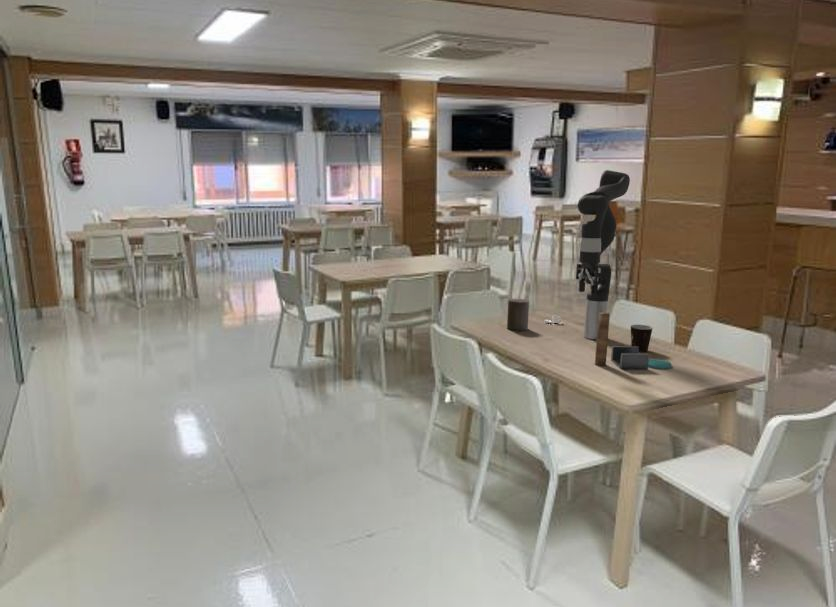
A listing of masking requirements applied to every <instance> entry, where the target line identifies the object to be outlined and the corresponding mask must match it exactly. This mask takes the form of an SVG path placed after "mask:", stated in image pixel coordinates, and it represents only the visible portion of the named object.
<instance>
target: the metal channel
mask: <svg viewBox="0 0 836 607" xmlns="http://www.w3.org/2000/svg"><path fill="white" fill-rule="evenodd" d="M649 359H650V354H649V353H640V352H639V347H638V346H631V345H612V346H611V356H610V361H611V362H612V363H613V364H614V365H615V366H616V367H618V369H620V370H621V371H622V370H623V371H625V370H627V371H628V370H629V371H632V370H634V371H638V370H639V371H647V370H649V367H648V361H649Z"/></svg>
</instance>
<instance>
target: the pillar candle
mask: <svg viewBox="0 0 836 607" xmlns="http://www.w3.org/2000/svg"><path fill="white" fill-rule="evenodd" d="M529 309H530V300H528V299H525V298H519V297H516V298H509V299H508V303H507V319H506V320H507V321H506V322H507V324H506V325H507V326H506V328H507V330H509V331H513V332H514V331H515V332H524V331H528V328H529V311H530V310H529Z"/></svg>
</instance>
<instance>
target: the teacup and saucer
mask: <svg viewBox="0 0 836 607" xmlns="http://www.w3.org/2000/svg"><path fill="white" fill-rule="evenodd" d="M561 321H562V319H561V316H559V315H552V320H550V319H544V323H546V324H547V323H551V324H553V323H558V324H560V323H559V322H561Z"/></svg>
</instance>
